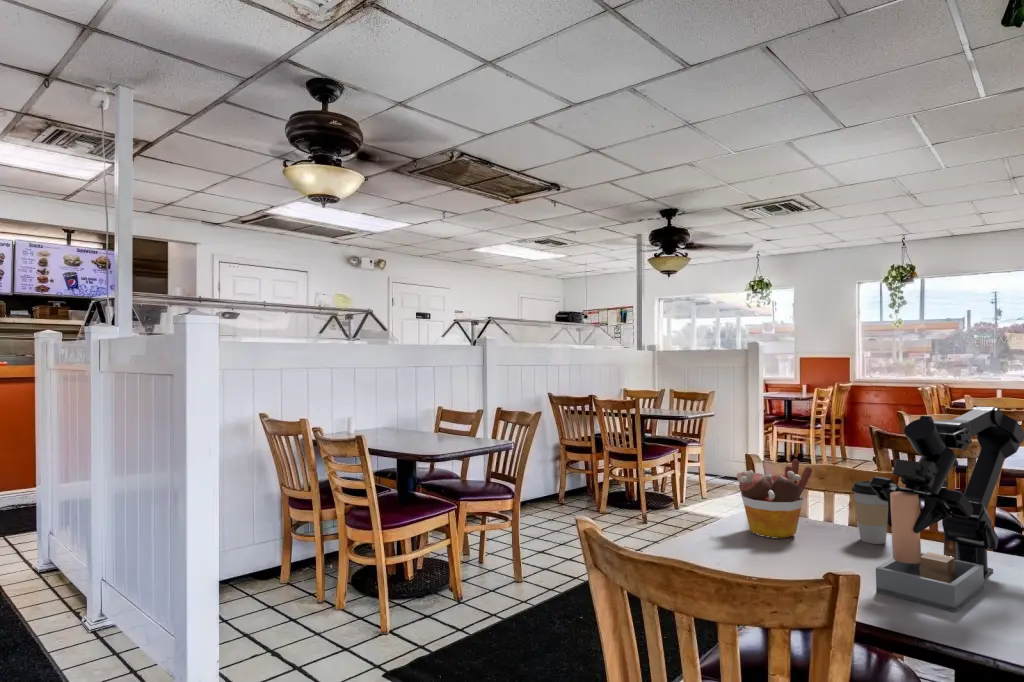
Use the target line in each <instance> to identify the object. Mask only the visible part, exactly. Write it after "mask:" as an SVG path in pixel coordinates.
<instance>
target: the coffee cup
mask: <svg viewBox="0 0 1024 682" xmlns="http://www.w3.org/2000/svg"><path fill="white" fill-rule="evenodd" d="M870 482H871V480H858V481H855V482H854V484H853V485H852V486H851V491H852V492H853V496H854V508H855V516H856V521H857V526H858V533H859V539H860V541H862V542H864V543H867V544H870V545H871V544H872V545H882V544H885V543H886V541H887V531H888V526H889V525H888V524H887V521H888V502H886V501H882V500H881V499H879V497H878V496H877V495H876V494H875V492H874V491H873V490H872V488H871V487H870V486H869V483H870Z"/></svg>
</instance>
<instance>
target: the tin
mask: <svg viewBox="0 0 1024 682" xmlns="http://www.w3.org/2000/svg"><path fill="white" fill-rule="evenodd" d="M943 536H944V537H943V555H946V556H952V557H955V558H956V542H952V541H946V538H945V534H943Z"/></svg>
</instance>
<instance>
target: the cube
mask: <svg viewBox="0 0 1024 682" xmlns="http://www.w3.org/2000/svg"><path fill="white" fill-rule="evenodd" d="M924 553H925V554H923V555H922V556H921V562H920V577H924V578H929V579H933V580H937V581H941V582H946V583H952V582H953V581H954V580H955V560H956V559H955V558H956V557H950V556H945V555H944V554H939V553H935V552H929V551H927V552H924Z"/></svg>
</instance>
